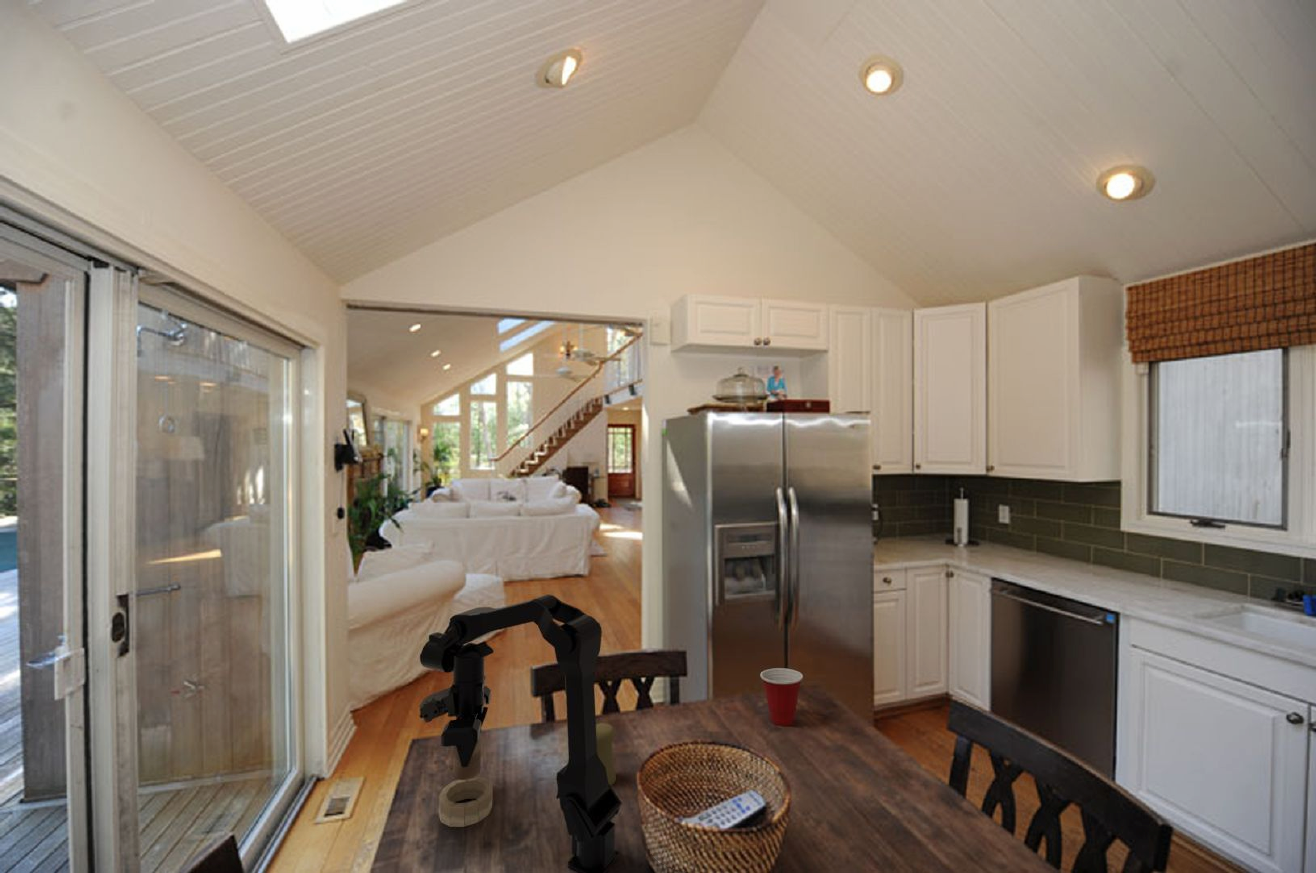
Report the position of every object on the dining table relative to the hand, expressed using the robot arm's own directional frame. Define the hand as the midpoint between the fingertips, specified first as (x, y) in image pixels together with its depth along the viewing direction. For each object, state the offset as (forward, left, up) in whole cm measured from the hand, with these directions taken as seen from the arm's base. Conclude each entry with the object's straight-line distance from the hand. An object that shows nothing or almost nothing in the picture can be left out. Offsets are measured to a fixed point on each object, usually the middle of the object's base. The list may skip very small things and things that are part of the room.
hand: (467, 758), depth 105 cm
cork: (-17, -21, -10) cm, 29 cm away
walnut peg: (0, 0, -3) cm, 2 cm away
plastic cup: (-43, -65, -10) cm, 79 cm away
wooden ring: (0, 0, -10) cm, 10 cm away
